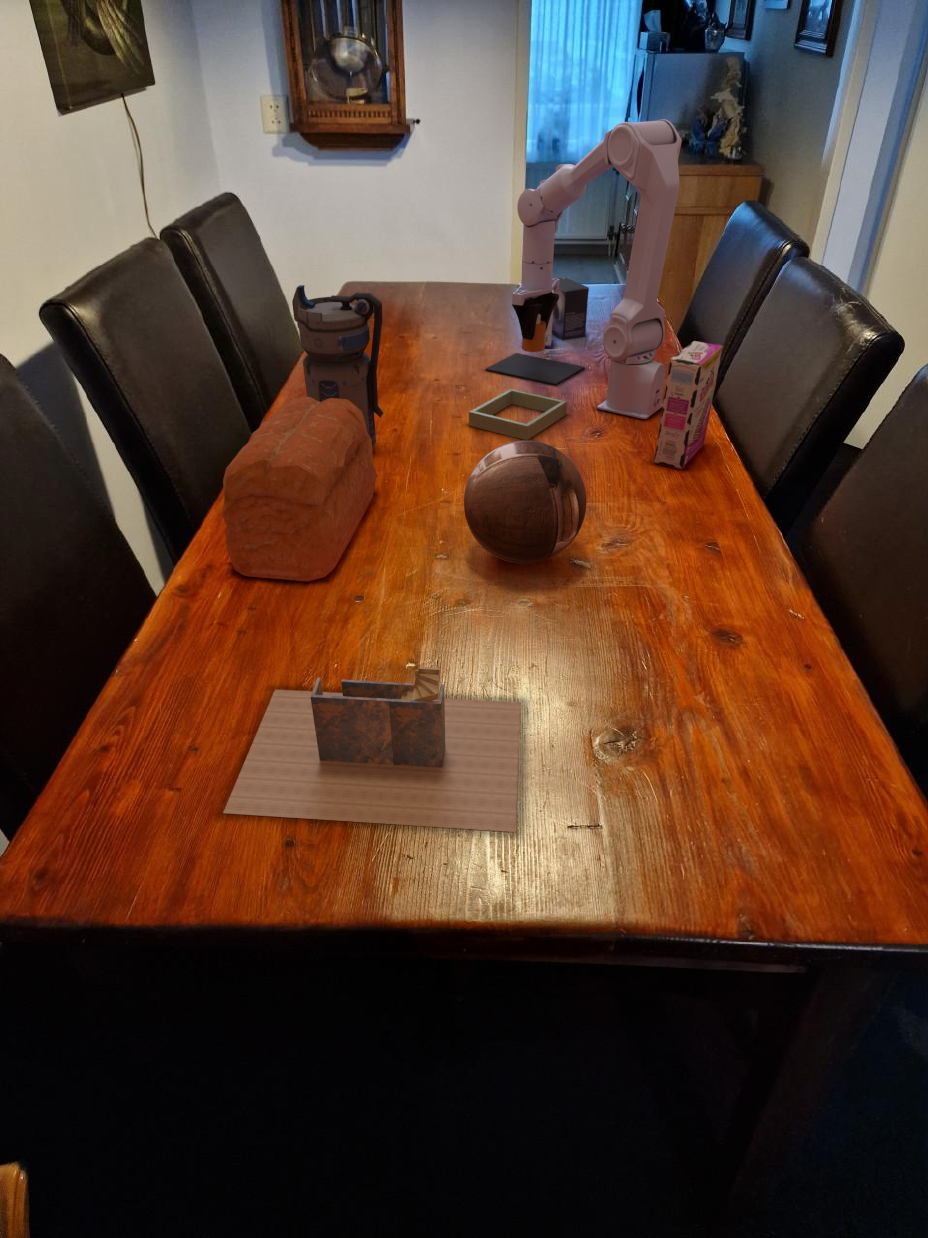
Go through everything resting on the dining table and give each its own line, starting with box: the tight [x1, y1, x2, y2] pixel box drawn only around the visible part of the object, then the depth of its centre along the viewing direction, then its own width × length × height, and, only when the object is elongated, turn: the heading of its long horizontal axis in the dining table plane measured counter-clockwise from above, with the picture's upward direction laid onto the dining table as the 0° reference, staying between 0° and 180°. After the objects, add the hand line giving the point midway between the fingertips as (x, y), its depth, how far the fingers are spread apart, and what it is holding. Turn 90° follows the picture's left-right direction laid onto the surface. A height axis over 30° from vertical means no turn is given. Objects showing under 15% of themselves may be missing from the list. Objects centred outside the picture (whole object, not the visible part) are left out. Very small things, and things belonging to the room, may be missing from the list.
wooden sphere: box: [463, 440, 587, 565], centre depth 100 cm, size 15×15×15 cm
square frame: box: [468, 388, 568, 441], centre depth 141 cm, size 12×14×2 cm
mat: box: [485, 352, 586, 386], centre depth 164 cm, size 16×12×1 cm
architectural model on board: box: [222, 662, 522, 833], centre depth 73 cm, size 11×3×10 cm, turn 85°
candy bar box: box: [653, 340, 724, 470], centre depth 125 cm, size 11×5×16 cm, turn 149°
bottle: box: [521, 314, 546, 353], centre depth 159 cm, size 4×4×6 cm
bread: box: [221, 396, 378, 582], centre depth 106 cm, size 14×27×15 cm, turn 171°
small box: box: [552, 276, 590, 340], centre depth 182 cm, size 11×6×10 cm, turn 25°
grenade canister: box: [291, 284, 384, 450], centre depth 124 cm, size 10×13×25 cm
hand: (534, 335), depth 159 cm, fingers closed on bottle, 4 cm apart
